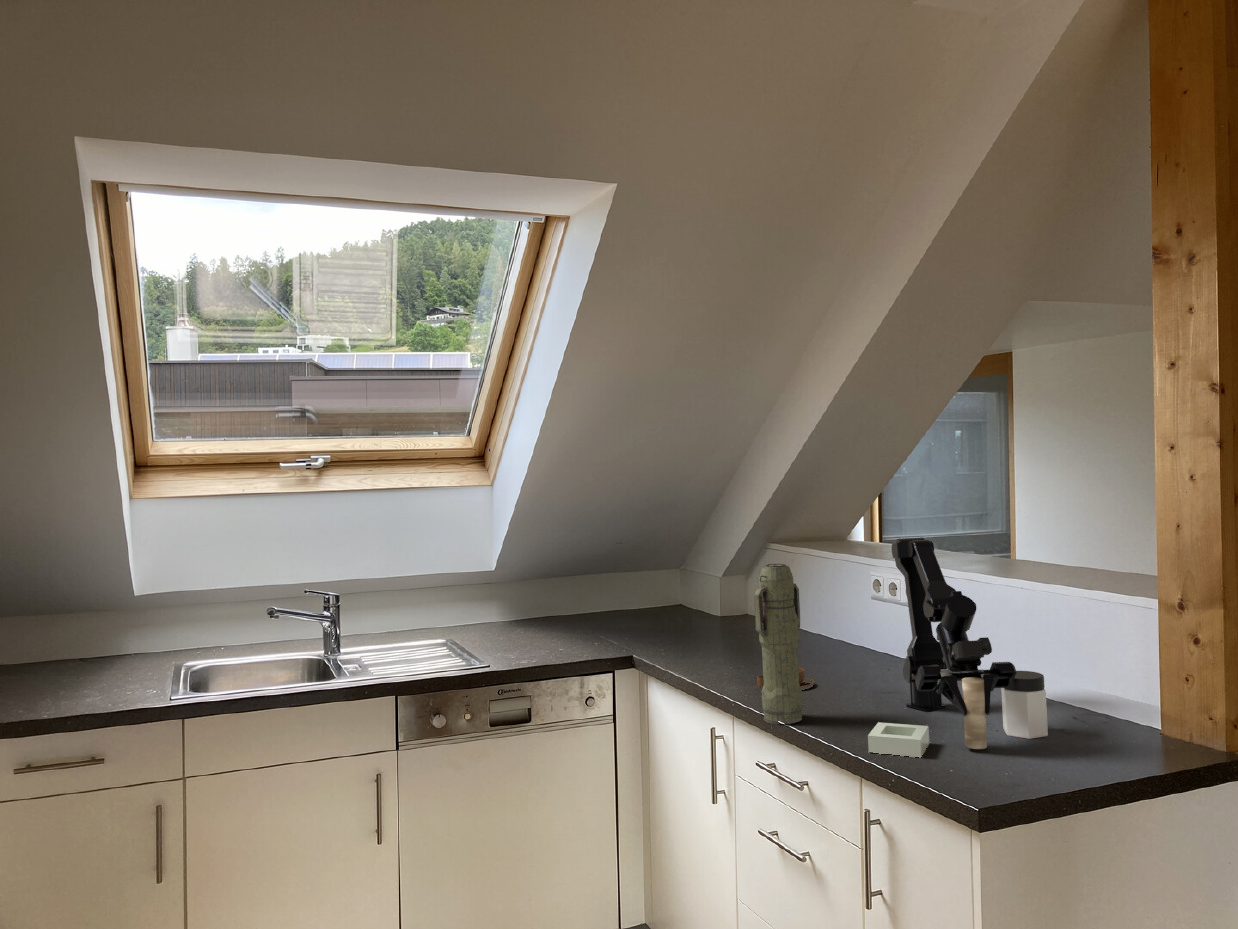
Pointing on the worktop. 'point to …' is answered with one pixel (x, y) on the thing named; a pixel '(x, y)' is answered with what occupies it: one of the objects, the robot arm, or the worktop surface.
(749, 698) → the worktop surface
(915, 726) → the pale green square holder
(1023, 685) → the jar
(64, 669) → the worktop surface
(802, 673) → the place setting
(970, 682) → the dowel
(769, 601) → the thermos
